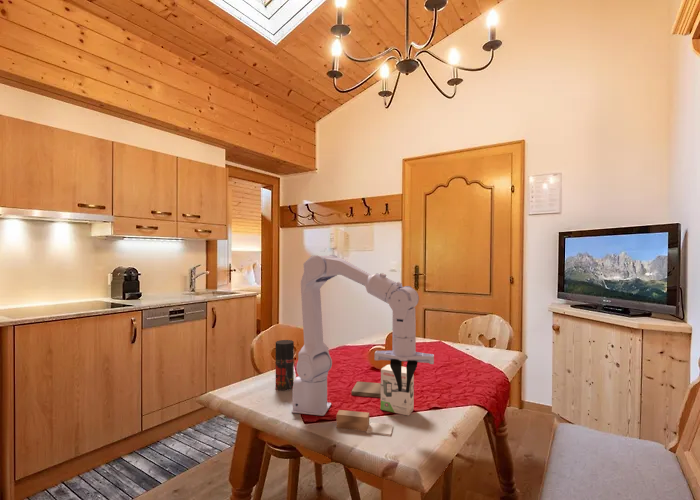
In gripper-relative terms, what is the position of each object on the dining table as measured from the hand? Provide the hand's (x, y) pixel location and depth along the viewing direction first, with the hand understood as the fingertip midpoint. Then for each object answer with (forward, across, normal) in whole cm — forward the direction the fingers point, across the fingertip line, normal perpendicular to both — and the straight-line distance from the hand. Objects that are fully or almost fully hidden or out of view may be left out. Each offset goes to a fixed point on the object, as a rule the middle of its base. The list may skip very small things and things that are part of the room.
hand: (404, 390), depth 92 cm
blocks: (+11, -10, 0) cm, 15 cm away
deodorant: (+11, -41, +22) cm, 48 cm away
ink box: (+11, -3, +13) cm, 17 cm away
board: (+10, -9, +25) cm, 29 cm away
